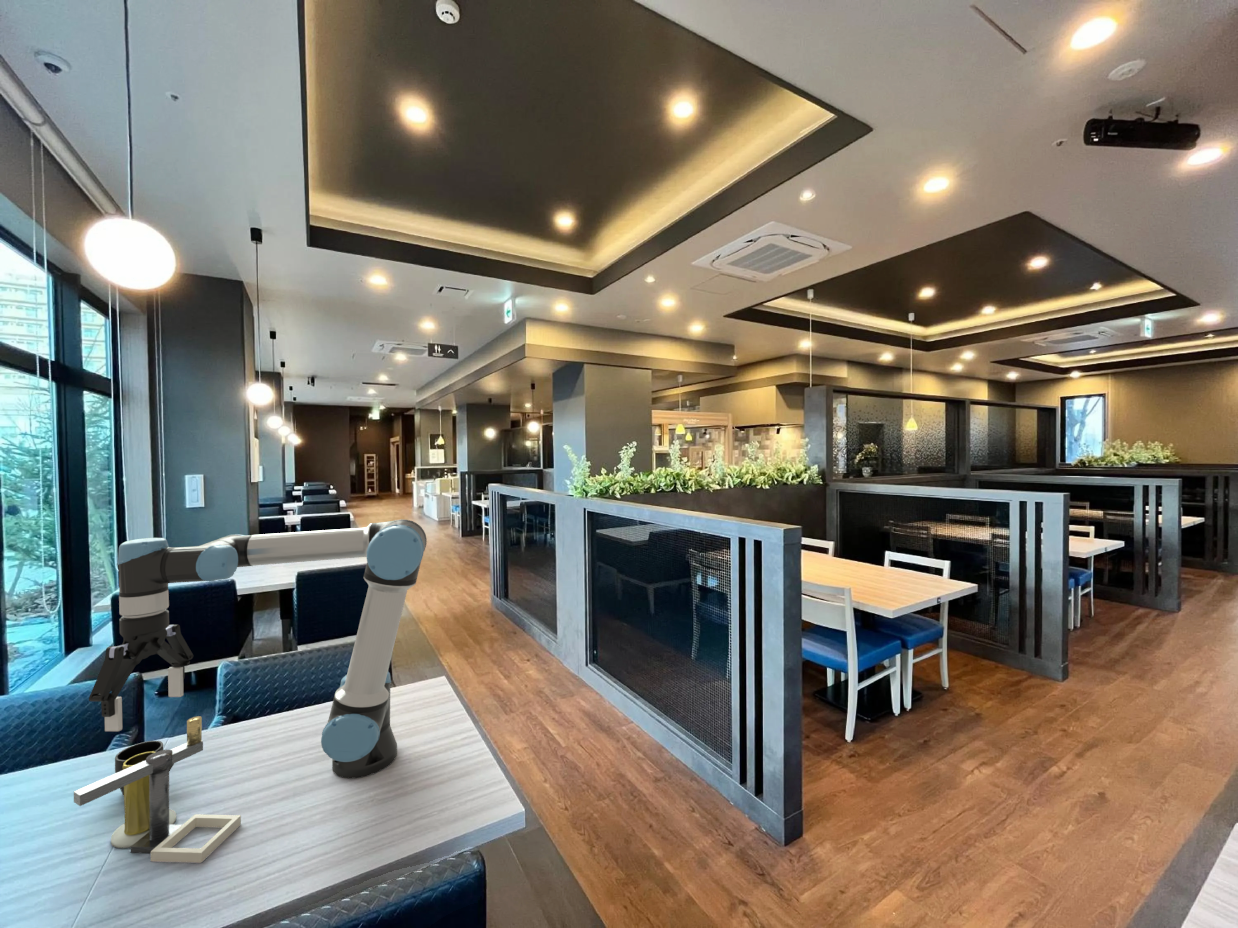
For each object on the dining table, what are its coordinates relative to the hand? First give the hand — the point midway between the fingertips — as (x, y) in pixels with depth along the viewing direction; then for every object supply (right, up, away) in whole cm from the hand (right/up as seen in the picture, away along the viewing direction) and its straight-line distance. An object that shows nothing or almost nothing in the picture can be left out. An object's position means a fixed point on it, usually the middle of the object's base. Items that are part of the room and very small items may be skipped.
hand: (146, 712), depth 104 cm
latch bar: (+4, -10, -5) cm, 12 cm away
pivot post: (+5, -25, -3) cm, 26 cm away
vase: (-1, -24, 0) cm, 24 cm away
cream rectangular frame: (+13, -25, -3) cm, 29 cm away
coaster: (-1, -25, 0) cm, 25 cm away
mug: (-12, -25, +12) cm, 30 cm away
